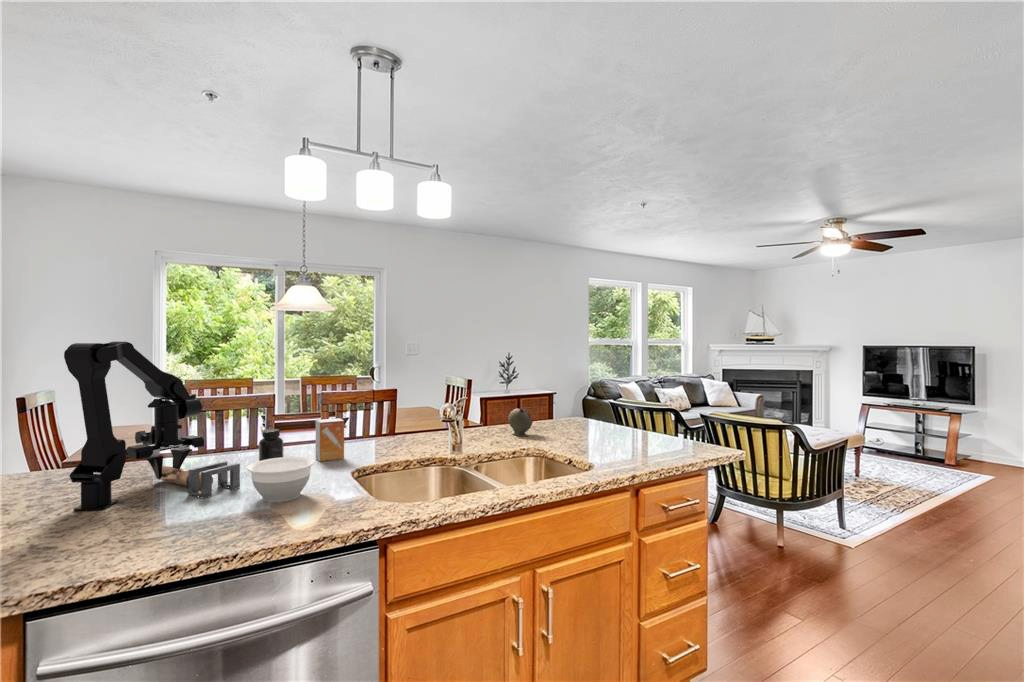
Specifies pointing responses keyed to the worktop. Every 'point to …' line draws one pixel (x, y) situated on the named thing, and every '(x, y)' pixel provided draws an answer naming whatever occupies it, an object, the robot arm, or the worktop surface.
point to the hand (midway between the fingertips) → (166, 477)
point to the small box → (329, 439)
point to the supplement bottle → (270, 445)
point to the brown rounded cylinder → (177, 476)
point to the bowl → (280, 477)
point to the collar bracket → (206, 478)
